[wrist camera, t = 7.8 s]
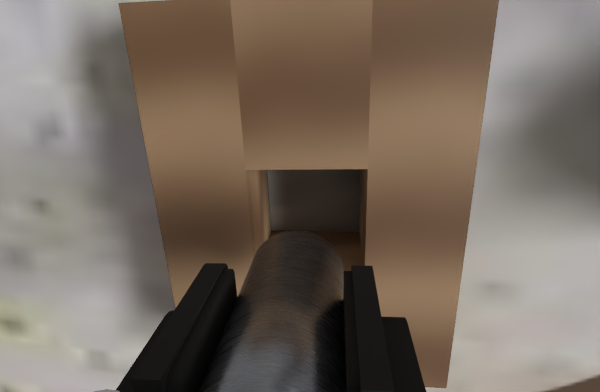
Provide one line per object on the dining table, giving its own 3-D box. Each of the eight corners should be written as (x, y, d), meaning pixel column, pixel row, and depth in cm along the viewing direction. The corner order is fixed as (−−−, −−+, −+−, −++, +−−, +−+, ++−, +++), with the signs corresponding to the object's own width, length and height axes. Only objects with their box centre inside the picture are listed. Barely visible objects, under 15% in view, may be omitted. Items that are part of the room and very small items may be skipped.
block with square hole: (169, 14, 16) (118, 3, 12) (460, -1, 15) (501, -18, 11) (213, 319, 22) (187, 375, 18) (426, 327, 20) (446, 388, 17)
